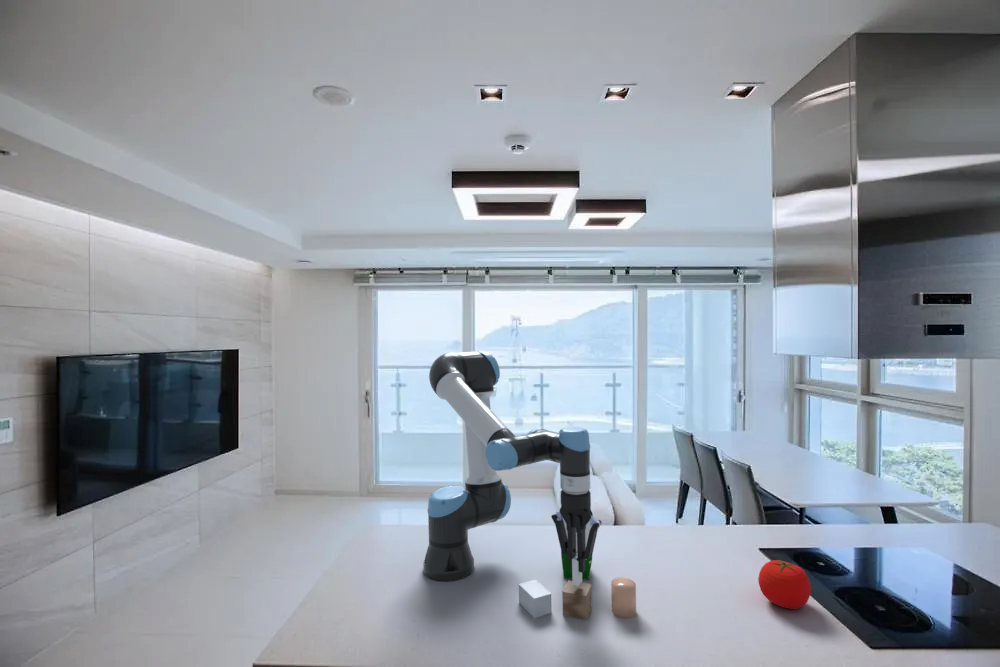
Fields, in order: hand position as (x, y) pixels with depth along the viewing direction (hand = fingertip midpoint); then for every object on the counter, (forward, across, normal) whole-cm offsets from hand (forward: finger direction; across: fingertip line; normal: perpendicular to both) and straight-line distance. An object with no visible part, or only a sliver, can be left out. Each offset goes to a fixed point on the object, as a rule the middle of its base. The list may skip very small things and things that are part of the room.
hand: (577, 583), depth 126 cm
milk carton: (+7, -8, +18) cm, 21 cm away
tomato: (+8, +44, +30) cm, 54 cm away
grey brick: (+7, -10, -4) cm, 13 cm away
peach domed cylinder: (+7, +10, +6) cm, 14 cm away
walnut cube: (+7, 0, 0) cm, 7 cm away
